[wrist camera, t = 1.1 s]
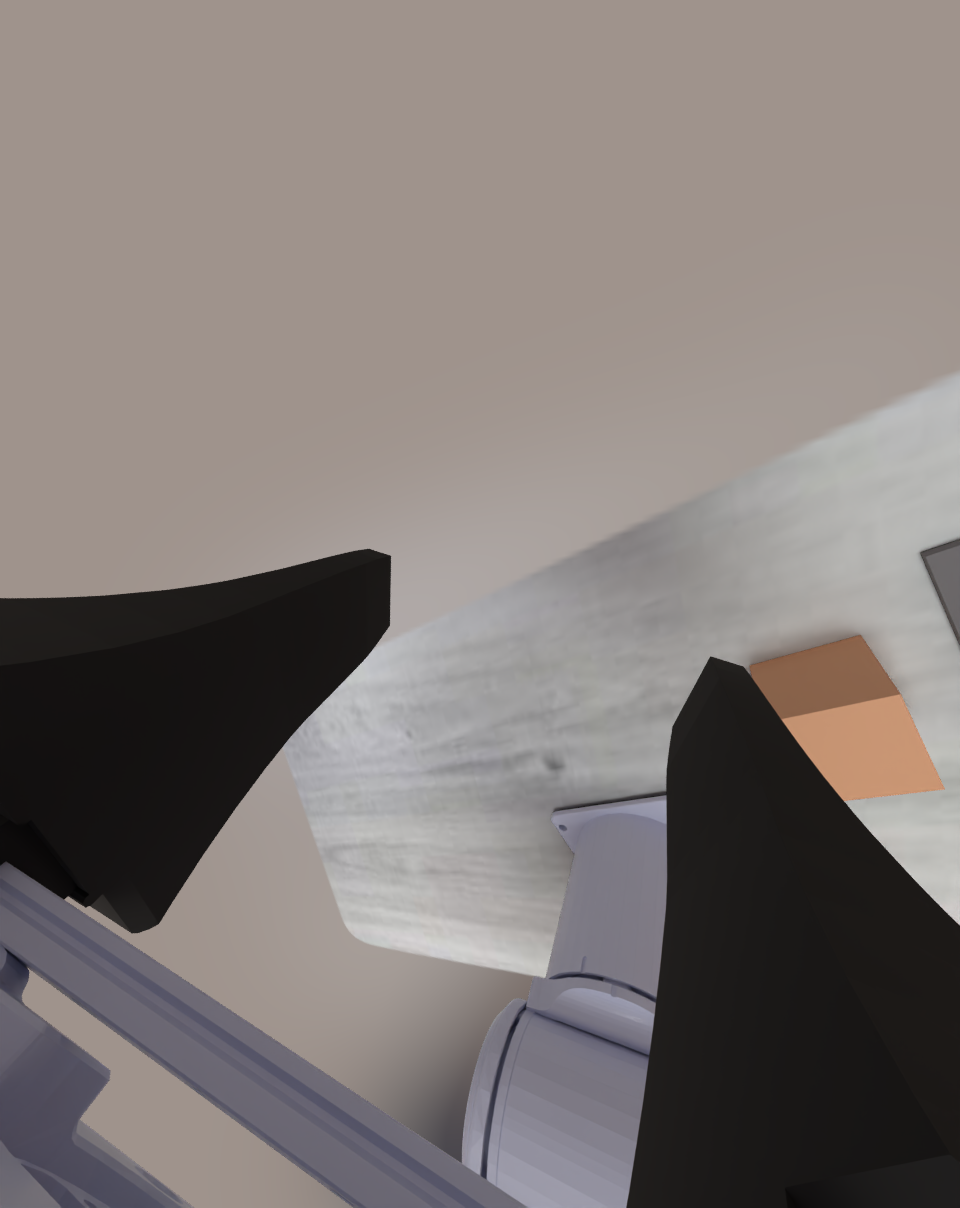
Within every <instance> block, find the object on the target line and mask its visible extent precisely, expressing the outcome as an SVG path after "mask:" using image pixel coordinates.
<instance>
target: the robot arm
mask: <svg viewBox="0 0 960 1208" xmlns="http://www.w3.org/2000/svg"><path fill="white" fill-rule="evenodd" d="M390 578H391V556H390V555H387V554H384V553H380V552H377V551H374V550H371V549H364V550H358V551H353V552H348V553H344V554H340V555H335V556H331V557H327V558H323V559H319V560H315V561H311V562H307V563H303V564H299V565H295V566H291V567H287V568H283V569H279V570H274V571H270V572H265V573H261V574H256V575H252V576H248V577H243V578H238V579H233V580H228V581H223V582H218V583H211V584H206V585H199V586H193V587H185V588H178V589H171V590H162V591H151V592H140V593H130V594H118V595H106V596H88V597H66V598H17V599H16V598H15V599H14V598H11V599H10V598H9V599H8V598H0V1208H194V1207H193V1206H191V1205H190V1204H189V1203H188V1202H186V1201H185V1200H183V1199H182V1198H181V1197H180V1196H178V1195H177V1194H176V1193H175V1192H173V1191H172V1190H171V1189H169V1188H168V1187H167V1186H165V1185H164V1184H163V1183H161V1182H160V1181H159V1180H158V1179H156V1178H155V1177H153V1176H152V1175H151V1174H150V1173H148V1172H147V1171H146V1170H145V1169H143V1168H142V1167H141V1166H139V1165H138V1164H137V1163H135V1162H134V1161H133V1160H132V1159H130V1158H129V1157H128V1156H126V1155H125V1154H124V1153H123V1152H121V1151H120V1150H119V1149H117V1148H116V1147H115V1146H113V1145H112V1144H111V1143H110V1142H108V1141H107V1140H106V1139H104V1138H103V1137H102V1136H101V1135H99V1134H98V1133H97V1132H95V1131H94V1130H93V1129H91V1128H90V1127H89V1126H88V1125H86V1124H85V1123H84V1122H82V1121H81V1120H80V1118H81V1117H82V1115H83V1114H84V1112H85V1111H86V1110H87V1109H88V1107H89V1106H90V1104H91V1103H92V1102H93V1101H94V1100H95V1098H96V1097H97V1096H98V1094H99V1093H100V1092H101V1091H102V1089H103V1088H104V1087H105V1085H106V1084H107V1083H108V1081H109V1079H110V1070H109V1069H108V1068H107V1067H105V1066H104V1065H103V1064H101V1063H100V1062H99V1061H98V1060H96V1059H95V1058H94V1057H93V1056H91V1055H90V1054H89V1053H88V1052H86V1051H85V1050H84V1049H82V1048H81V1047H80V1046H78V1045H77V1044H76V1043H74V1042H73V1041H72V1040H71V1039H69V1038H68V1037H67V1036H65V1035H64V1034H63V1033H61V1032H60V1031H59V1030H57V1029H56V1028H55V1027H53V1026H52V1025H51V1024H49V1023H48V1022H47V1021H45V1020H44V1019H43V1018H41V1017H40V1016H38V1015H37V1014H36V1013H35V1012H33V1011H32V1010H31V1009H29V1008H28V1007H27V1006H25V1004H24V1003H23V1002H22V993H23V990H24V988H25V986H26V984H27V982H28V978H29V970H28V968H29V969H30V970H32V971H33V972H34V973H36V974H37V975H38V976H40V977H41V978H43V979H44V980H45V981H46V982H48V983H49V984H51V985H52V986H53V987H55V988H56V989H57V990H59V991H60V992H61V993H63V994H65V995H66V996H67V997H69V998H70V999H71V1000H72V1001H74V1002H75V1003H77V1004H78V1005H79V1006H81V1007H82V1008H83V1009H85V1010H86V1011H87V1012H89V1013H90V1014H91V1015H93V1016H94V1017H95V1018H97V1019H98V1020H99V1021H101V1022H102V1023H104V1024H105V1025H106V1026H108V1027H109V1028H110V1029H112V1030H113V1031H114V1032H116V1033H117V1034H118V1035H120V1036H121V1037H123V1038H124V1039H125V1040H127V1041H128V1042H129V1043H131V1044H132V1045H133V1046H135V1047H136V1048H137V1049H139V1050H140V1051H142V1052H143V1053H144V1054H146V1055H147V1056H148V1057H150V1058H151V1059H152V1060H154V1061H155V1062H156V1063H158V1064H159V1065H161V1066H162V1067H163V1068H165V1069H166V1070H168V1071H169V1072H170V1073H171V1074H173V1075H174V1076H176V1077H177V1078H178V1079H180V1080H181V1081H182V1082H184V1083H185V1084H187V1085H188V1086H189V1087H190V1088H192V1089H193V1090H195V1091H196V1092H197V1093H199V1094H200V1095H201V1096H203V1097H204V1098H205V1099H207V1100H208V1101H210V1102H211V1103H212V1104H213V1105H215V1106H216V1107H218V1108H219V1109H220V1110H222V1111H223V1112H224V1113H226V1114H227V1115H229V1116H230V1117H231V1118H232V1119H234V1120H235V1121H237V1122H238V1123H239V1124H241V1125H242V1126H243V1127H245V1128H246V1129H248V1130H249V1131H250V1132H251V1133H253V1134H254V1135H256V1136H257V1137H258V1138H260V1139H261V1140H262V1141H264V1142H265V1143H266V1144H268V1145H269V1146H270V1147H272V1148H274V1149H275V1150H276V1151H277V1152H279V1153H280V1154H281V1155H283V1156H284V1157H285V1158H287V1159H288V1160H290V1161H291V1162H292V1163H294V1164H295V1165H296V1166H298V1167H299V1168H300V1169H302V1170H303V1171H305V1172H306V1173H307V1174H309V1175H310V1176H311V1177H313V1178H314V1179H315V1180H317V1181H318V1182H319V1183H321V1184H322V1185H324V1186H325V1187H326V1188H328V1189H329V1190H330V1191H332V1192H333V1193H334V1194H336V1195H337V1196H339V1197H340V1198H341V1199H342V1200H344V1201H345V1202H347V1203H348V1204H349V1205H351V1206H352V1207H353V1208H960V925H959V924H957V923H956V922H955V921H954V920H953V919H952V918H951V917H950V916H949V915H948V914H947V913H946V912H945V911H944V910H943V909H942V908H941V907H940V906H939V905H938V904H937V903H936V902H935V901H934V900H933V899H932V898H931V897H930V896H929V895H928V894H927V893H926V892H925V890H924V889H923V888H922V887H921V886H920V885H919V884H918V883H917V882H916V881H915V880H914V879H913V878H912V877H911V876H910V875H909V874H908V873H907V872H906V870H905V869H904V868H903V867H902V866H901V865H900V864H899V863H898V862H897V861H896V860H895V859H894V857H893V856H892V855H891V854H890V853H889V852H888V851H887V850H886V849H885V848H884V847H883V846H882V844H881V843H880V842H879V841H878V840H877V839H876V838H875V837H874V836H873V835H872V834H871V832H870V831H869V830H868V829H867V828H866V827H865V826H864V824H863V823H862V822H861V821H860V820H859V819H858V818H857V816H856V815H855V814H854V813H853V812H852V810H851V809H850V808H849V807H848V806H847V804H846V803H845V802H844V801H843V799H842V798H841V797H840V796H839V795H838V793H837V792H836V791H835V790H834V788H833V787H832V786H831V785H830V783H829V782H828V781H827V780H826V779H825V777H824V776H823V775H822V773H821V772H820V771H819V770H818V768H817V767H816V766H815V764H814V763H813V762H812V761H811V759H810V758H809V757H808V755H807V754H806V753H805V751H804V750H803V749H802V747H801V746H800V745H799V743H798V742H797V740H796V739H795V738H794V736H793V735H792V734H791V732H790V731H789V729H788V728H787V727H786V725H785V724H784V722H783V721H782V720H781V718H780V717H779V715H778V714H777V713H776V711H775V710H774V708H773V707H772V705H771V704H770V703H769V701H768V700H767V698H766V697H765V695H764V694H763V693H762V691H761V690H760V688H759V687H758V685H757V684H756V683H755V681H754V680H753V678H752V677H751V676H750V674H749V673H748V672H747V670H746V669H745V668H744V667H743V666H739V665H736V664H733V663H730V662H727V661H724V660H720V659H717V658H714V657H711V656H710V658H709V660H708V662H707V664H706V666H705V667H704V669H703V671H702V673H701V675H700V677H699V679H698V680H697V682H696V684H695V686H694V688H693V690H692V692H691V693H690V695H689V697H688V699H687V701H686V703H685V705H684V706H683V708H682V710H681V712H680V714H679V716H678V717H677V719H676V721H675V723H674V725H673V727H672V734H671V741H670V748H669V755H668V763H667V781H666V795H664V796H657V797H650V798H644V799H637V800H630V801H623V802H616V803H609V804H602V805H595V806H589V807H582V808H575V809H568V810H561V811H555V812H553V814H552V817H551V821H552V823H553V824H554V825H555V827H556V828H557V830H558V831H559V833H560V834H561V836H562V837H563V839H564V840H565V842H566V843H567V844H568V846H569V847H570V849H571V850H572V852H573V853H574V859H573V863H572V867H571V871H570V876H569V880H568V884H567V888H566V893H565V897H564V901H563V906H562V910H561V914H560V918H559V923H558V927H557V931H556V935H555V940H554V944H553V948H552V953H551V957H550V961H549V965H548V970H547V974H546V978H541V977H537V976H534V977H533V981H532V985H531V989H530V992H529V996H528V1000H527V1001H525V1000H523V999H521V998H516V999H514V1000H512V1001H511V1002H510V1003H509V1004H508V1005H507V1006H506V1008H505V1009H504V1010H502V1011H501V1012H500V1013H499V1014H498V1015H497V1017H496V1018H495V1020H494V1021H493V1023H492V1025H491V1026H490V1028H489V1030H488V1033H487V1035H486V1038H485V1040H484V1042H483V1045H482V1048H481V1051H480V1054H479V1057H478V1060H477V1064H476V1068H475V1071H474V1075H473V1079H472V1083H471V1088H470V1092H469V1097H468V1103H467V1109H466V1115H465V1122H464V1131H463V1145H462V1163H460V1162H458V1161H457V1160H456V1159H454V1158H452V1157H451V1156H450V1155H448V1154H447V1153H445V1152H444V1151H442V1150H440V1149H439V1148H438V1147H436V1146H434V1145H433V1144H431V1143H430V1142H428V1141H427V1140H425V1139H424V1138H422V1137H421V1136H419V1135H418V1134H416V1133H415V1132H413V1131H412V1130H410V1129H409V1128H407V1127H406V1126H404V1125H403V1124H401V1123H400V1122H398V1121H397V1120H395V1119H394V1118H392V1117H391V1116H389V1115H388V1114H386V1113H385V1112H383V1111H382V1110H380V1109H379V1108H377V1107H376V1106H374V1105H372V1104H371V1103H370V1102H368V1101H366V1100H365V1099H364V1098H362V1097H361V1096H359V1095H358V1094H356V1093H355V1092H353V1091H351V1090H350V1089H349V1088H347V1087H346V1086H344V1085H342V1084H341V1083H339V1082H338V1081H336V1080H335V1079H333V1078H332V1077H330V1076H329V1075H327V1074H326V1073H324V1072H323V1071H321V1070H320V1069H318V1068H317V1067H315V1066H314V1065H312V1064H311V1063H309V1062H308V1061H306V1060H305V1059H303V1058H302V1057H300V1056H299V1055H297V1054H296V1053H294V1052H292V1051H291V1050H289V1049H288V1048H287V1047H285V1046H283V1045H282V1044H281V1043H279V1042H278V1041H276V1040H275V1039H273V1038H272V1037H270V1036H269V1035H267V1034H265V1033H264V1032H263V1031H261V1030H260V1029H258V1028H257V1027H255V1026H254V1025H252V1024H251V1023H249V1022H247V1021H246V1020H244V1019H243V1018H241V1017H240V1016H238V1015H237V1014H235V1013H234V1012H232V1011H231V1010H229V1009H228V1008H226V1007H225V1006H223V1005H222V1004H220V1003H219V1002H217V1001H216V1000H214V999H213V998H211V997H210V996H208V995H207V994H205V993H204V992H202V991H201V990H199V989H198V988H196V987H195V986H193V985H192V984H190V983H189V982H187V981H186V980H184V979H182V978H181V977H180V976H178V975H177V974H175V973H173V972H172V971H170V970H169V969H168V968H166V967H164V966H163V965H162V964H160V963H158V962H157V961H155V960H154V959H152V958H151V957H149V956H148V955H146V954H145V953H143V952H142V951H140V950H139V949H137V948H136V947H134V946H133V945H131V944H130V943H128V942H127V941H125V940H124V939H122V938H121V937H119V936H118V935H116V934H115V933H113V932H112V931H110V930H109V929H107V928H106V927H104V926H103V925H101V924H100V923H98V922H97V921H95V920H94V919H92V918H91V917H89V916H87V915H86V914H85V913H83V912H81V911H80V910H79V909H77V908H76V907H74V906H73V905H71V904H70V903H68V902H66V901H65V900H64V899H65V898H66V897H67V896H69V897H70V898H72V899H74V900H75V901H76V902H78V903H79V904H81V905H82V906H84V907H88V906H91V907H92V908H94V909H96V910H97V911H98V912H100V913H102V914H103V915H105V916H106V917H108V918H109V919H111V920H112V921H114V922H115V923H117V924H118V925H120V926H121V927H123V928H124V929H126V930H128V931H129V932H131V933H139V932H142V931H145V930H148V929H150V928H152V927H154V926H156V925H158V924H159V923H160V921H161V920H162V918H163V916H164V915H165V913H166V912H167V910H168V908H169V907H170V905H171V904H172V902H173V900H174V899H175V897H176V896H177V894H178V893H179V891H180V890H181V888H182V887H183V885H184V883H185V882H186V880H187V879H188V877H189V876H190V874H191V873H192V871H193V870H194V868H195V866H196V865H197V863H198V862H199V860H200V859H201V857H202V856H203V854H204V853H205V851H206V850H207V849H208V847H209V846H210V844H211V843H212V841H213V840H214V838H215V837H216V836H217V834H218V833H219V831H220V830H221V828H222V827H223V826H224V824H225V823H226V821H227V820H228V818H229V817H230V816H231V814H232V813H233V811H234V810H235V808H236V807H237V806H238V804H239V803H240V802H241V800H242V799H243V798H244V796H245V795H246V794H247V792H248V791H249V790H250V788H251V787H252V786H253V784H254V783H255V782H256V780H257V779H258V778H259V776H260V775H261V774H262V772H263V771H264V769H265V768H266V767H267V766H268V764H269V763H270V762H271V761H272V760H273V758H274V757H275V756H276V754H277V753H278V752H279V751H280V749H281V748H282V747H283V746H284V744H285V743H286V742H287V741H288V739H289V738H290V737H291V736H292V735H293V733H294V732H295V731H296V730H297V729H298V728H299V727H300V726H301V725H302V723H303V722H304V721H305V720H306V719H307V718H308V717H309V716H310V715H311V714H312V713H313V712H314V711H315V710H316V709H317V708H318V707H319V706H320V705H321V704H322V703H323V702H324V701H325V700H326V699H327V698H328V697H329V696H330V695H331V694H332V693H333V692H334V691H335V690H336V689H337V688H338V686H339V685H340V684H341V683H342V682H343V681H344V680H345V679H346V678H347V677H348V676H349V675H350V674H351V673H352V672H353V671H354V670H355V669H356V668H357V667H358V666H359V665H360V664H361V663H362V662H363V661H364V659H365V658H366V657H367V656H368V655H369V654H370V652H371V651H372V650H373V648H374V647H375V646H376V644H377V643H378V642H379V640H380V639H381V637H382V636H383V634H384V633H385V632H386V630H387V629H388V627H389V626H390V581H391V579H390Z"/></svg>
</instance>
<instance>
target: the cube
mask: <svg viewBox="0 0 960 1208" xmlns="http://www.w3.org/2000/svg"><path fill="white" fill-rule="evenodd" d="M750 670H751V675H752V678H753V680H754V681H755V683H756V684H757V685H758V687H759V688H760V690H761V691H762V693H763V694H764V695H765V697H766V698H767V700H768V701H769V703H770V704H771V705H772V707H773V708H774V710H775V711H776V713H777V714H778V715H779V717H780V718H781V720H782V721H783V722H784V724H785V725H786V727H787V728H788V729H789V731H790V732H791V734H792V735H793V736H794V738H795V739H796V740H797V742H798V743H799V745H800V746H801V747H802V749H803V750H804V751H805V753H806V754H807V755H808V757H809V758H810V759H811V761H812V762H813V763H814V764H815V766H816V767H817V768H818V770H819V771H820V772H821V773H822V775H823V776H824V777H825V779H826V780H827V781H828V782H829V783H830V785H831V786H832V787H833V788H834V790H835V791H836V792H837V793H838V795H839V796H840V797H841V798H842V799H843V801H847V800H856V799H864V798H873V797H882V796H891V795H899V794H908V793H917V792H926V791H934V790H943V789H945V788H944V786H943V784H942V782H941V780H940V778H939V776H938V773H937V771H936V769H935V767H934V765H933V763H932V761H931V758H930V756H929V754H928V752H927V750H926V748H925V745H924V743H923V741H922V739H921V737H920V735H919V733H918V730H917V728H916V726H915V724H914V722H913V720H912V718H911V715H910V713H909V711H908V709H907V707H906V705H905V702H904V700H903V698H902V696H901V694H900V693H899V691H898V690H897V688H896V687H895V685H894V684H893V682H892V681H891V679H890V678H889V676H888V675H887V673H886V672H885V670H884V669H883V667H882V666H881V664H880V663H879V661H878V660H877V659H876V657H875V656H874V654H873V653H872V651H871V650H870V648H869V647H868V645H867V644H866V642H865V641H864V639H863V638H862V636H861V635H859V636H855V637H851V638H848V639H844V640H840V641H837V642H833V643H830V644H826V645H822V646H819V647H815V648H811V649H808V650H804V651H801V652H797V653H793V654H790V655H786V656H782V657H779V658H775V659H772V660H768V661H764V662H761V663H757V664H753V665H750Z"/></svg>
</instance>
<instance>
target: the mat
mask: <svg viewBox="0 0 960 1208" xmlns="http://www.w3.org/2000/svg"><path fill="white" fill-rule="evenodd" d="M921 555H922V558H923V560H924V562H925V565H926V567H927V569H928V572H929V574H930V576H931V579H932V581H933V583H934V586H935V588H936V590H937V593H938V595H939V598H940V600H941V602H942V605H943V607H944V609H945V612H946V614H947V616H948V619H949V621H950V623H951V626H952V628H953V630H954V633H955V635H956V637H957V640H958V642H959V644H960V540H957V541H954V542H951V543H948V544H945V545H942V546H940V547H937V548H934V549H931V550H928V551H925V552H922V553H921Z"/></svg>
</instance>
